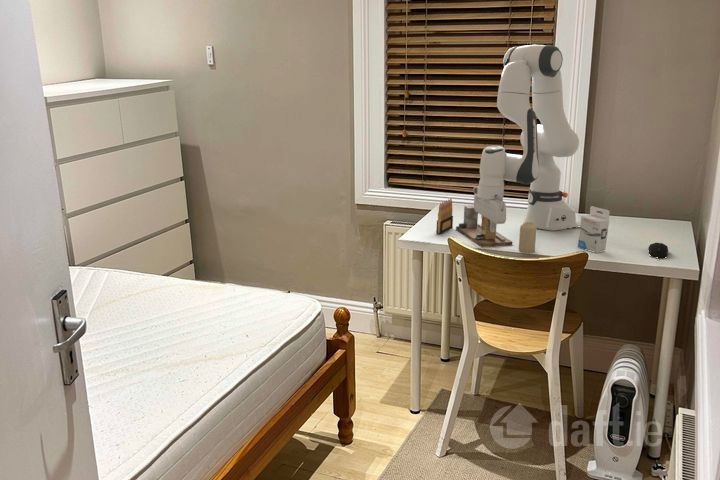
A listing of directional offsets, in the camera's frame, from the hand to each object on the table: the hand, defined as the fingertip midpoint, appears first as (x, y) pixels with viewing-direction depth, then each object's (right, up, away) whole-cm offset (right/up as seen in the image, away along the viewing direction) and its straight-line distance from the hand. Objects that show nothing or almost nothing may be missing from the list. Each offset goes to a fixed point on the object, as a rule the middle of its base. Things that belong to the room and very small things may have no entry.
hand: (488, 229), depth 249 cm
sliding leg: (-1, -3, +1) cm, 3 cm away
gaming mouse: (+56, -9, -12) cm, 58 cm away
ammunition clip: (-14, 0, +15) cm, 21 cm away
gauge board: (-1, -3, +8) cm, 8 cm away
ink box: (+35, -7, -6) cm, 36 cm away
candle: (+12, -8, -8) cm, 16 cm away
